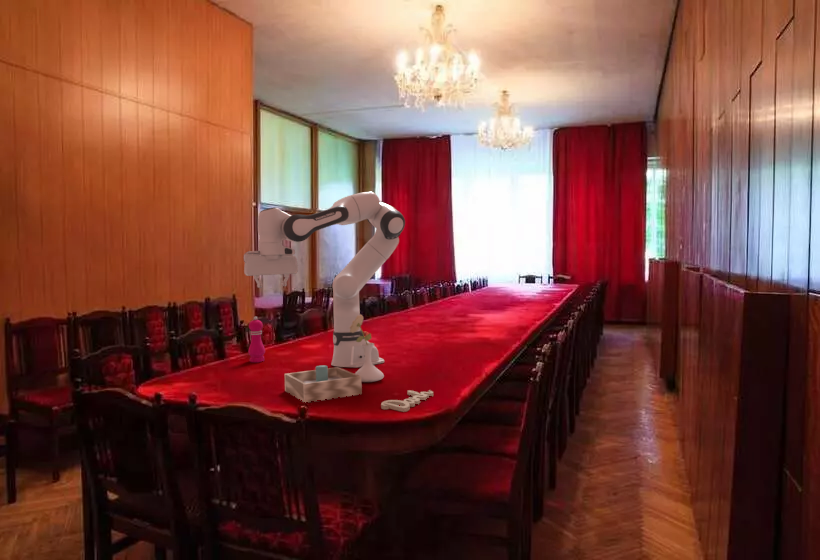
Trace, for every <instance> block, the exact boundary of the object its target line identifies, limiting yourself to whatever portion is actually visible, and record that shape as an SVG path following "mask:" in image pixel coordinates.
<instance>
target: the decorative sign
mask: <svg viewBox="0 0 820 560" xmlns="http://www.w3.org/2000/svg"><path fill="white" fill-rule="evenodd" d="M406 392H407V395H408V396H410V395H411V396H410V397H408V398H405V399H403V400H402V399H401V400H400V399H399V400H398V399H388V400H384V401H382V402H381V404H380V408H381V409H382V410H394V411H397V412H403V413H405V412H406V413H407V412H408V411H410V409H411V408H414V407H415V406H416V405H415V404H418V405H420V403H421V401H420V400H425V401H427V400H428V399H427V398H430V397H429V396H432V397H434V391H433V390H431V389H429V390H427V391H420V392H418V391H414V390H410V389H409V390H407V391H406ZM426 399H427V400H426ZM399 405H400V406H399Z"/></svg>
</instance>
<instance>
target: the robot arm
mask: <svg viewBox="0 0 820 560" xmlns="http://www.w3.org/2000/svg"><path fill="white" fill-rule="evenodd" d="M365 220H367V222H368V223H369V224H371V225H372V226H373V227H374V228H375V231H374V234H373V236H372V237H371V238H370V239H369V240H368V241H367V242H366V243H365V244H364V245H363V246H362V248H361V249H359V251H358V252H357V253H356V254H355V255H354V256H353V257H352V259H351V260H350V261H349V262H348V263H347V264H346V265H345V267H344V268H343V269H342V270H341V271H340V272H339V273H338V274H336V276H335V277H334V279H333V281H332V291H333V292H332V296H333V298H332V299H333V331H332V332H333V333H332V341H333V355H332V360H331V363H330V364H331V366H333V367H339V368H361V367H362V366H363V365H364V363H365V353H364V349H363V347H362V346H361V344H362V343H366V341H365V339H364V338H363V339H362V341H361V342H356V340H357V339H358V338H359V337H360V336H363V334H364V337H365V336H366V335H368V334H369V332H368V331H363V330H362V331H363V333H362V331H361V329H360V327H361V326H360V327H359V329H358V330H357V331H356V332H354V333H352V332H350V330H351V329H350V327H351V325H352V324H353V323H352V322H353V321H354V320H355V319H356V317H357V316H358V315H359V316H360V314H361V313H360V312H361V310H360V308H361V307H360V291H361V290H362V289H363V288H364V286H365V285H366V284H367V283H368V282H369V281H370V280H371V278H372V277H373V276H374V275H375V273H376V272H377V271H378V270H379V269H381V267H382V265H384V263H386V261H387V260H388V259H390V257H391V255H392V254H393V253H394V251H395V250H396V249H397V247H398V245H399V243H400V238H399V237H400V236H401V233H402V232H403V231H404V229H405V225H406V220H405V216H404V215H403V214H402V212H400V211H399V210H397V209H396V207H394V206H392V205H389V204H387V203H385V202H384V201H383V200H380V198H379V196H378V194H376V193H375V192H373V191H364V192H358V193H354V194H350V195H347V196H344V197H343V198H340V199H338V200H337V201H336V200H335V202H334V203H332V206H331V207H329V208H327V209H324V210H322V211H319V212H316V213H312V214H307V215H306V214H288V213H287V212H285V211H282V210H281V209H280V208H279V207H269V208H265V209H262V210H261V211H259V213H258V217H257V233H258V250H253V251H251V250H249V251H247V252H245V253H244V254H243V262H244V266H243V267H244V268H243V269H244V270H243V272H244V273H243V274H244V275H245V276H248V277H253V280H255V282H256V284H257V285H256V287H257V288H260V289H261V288H263V282H261V281H260V280H259V279H260V276H271V275H272V276H274V275H278V276H279V275H283V277H284V279H283V281H281V287H287V285H288V284H287V282H288V280H289V278H290V275H296V274H297V273H298V272H299V264H298V259H297V257H296V255H295V254H296V251H295V248H292V247H288V246H284V245H283V241H288V242H298V243H300V242H304V241H305V240H307V239H309V237H311V236H312V235H313V233H315V232H317V231H320V230H323V229H326V228H328V227H332V226H335V225H339V226H347V225H348V226H349V225H353V224H357V223H359V222H362V221H365ZM367 343H371V342H370V341H369V340H368V341H367ZM371 362H372V364H373V365H374V366H375V365H380V364H383V363H385V359H384V358H382V357H380V355H379V350H378V348H377V347H376V346H375V344H374V345H373V347H372V351H371Z"/></svg>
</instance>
